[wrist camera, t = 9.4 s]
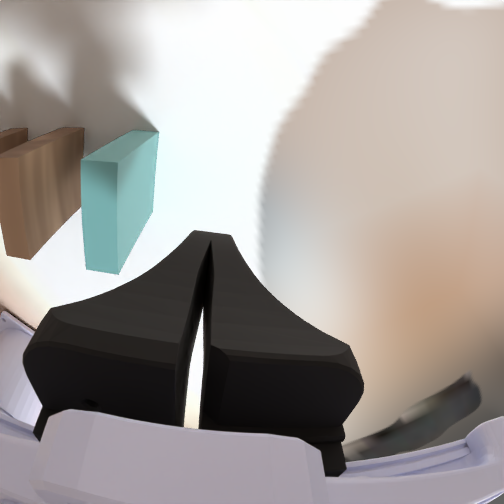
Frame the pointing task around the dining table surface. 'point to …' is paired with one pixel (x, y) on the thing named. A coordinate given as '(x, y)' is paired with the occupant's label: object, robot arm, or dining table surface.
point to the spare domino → (117, 198)
